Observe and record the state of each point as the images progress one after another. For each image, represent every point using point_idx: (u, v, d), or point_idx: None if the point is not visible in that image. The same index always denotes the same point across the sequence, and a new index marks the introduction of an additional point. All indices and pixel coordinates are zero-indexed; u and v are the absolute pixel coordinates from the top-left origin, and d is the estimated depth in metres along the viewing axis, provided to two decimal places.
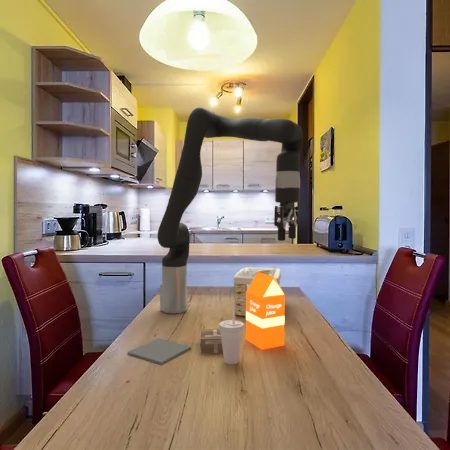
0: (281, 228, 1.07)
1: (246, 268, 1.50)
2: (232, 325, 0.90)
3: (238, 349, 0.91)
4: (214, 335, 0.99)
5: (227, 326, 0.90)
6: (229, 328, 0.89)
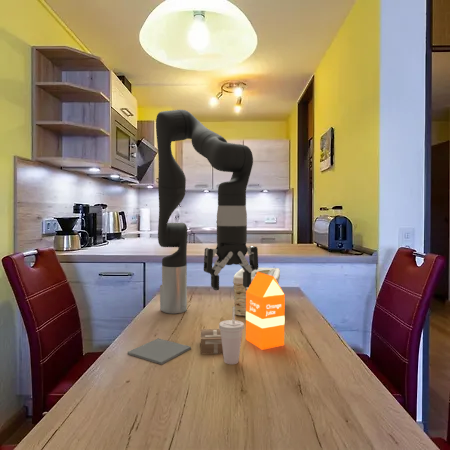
0: None
1: None
2: (232, 325, 0.90)
3: (238, 349, 0.91)
4: (214, 335, 0.99)
5: (227, 326, 0.90)
6: (229, 328, 0.89)
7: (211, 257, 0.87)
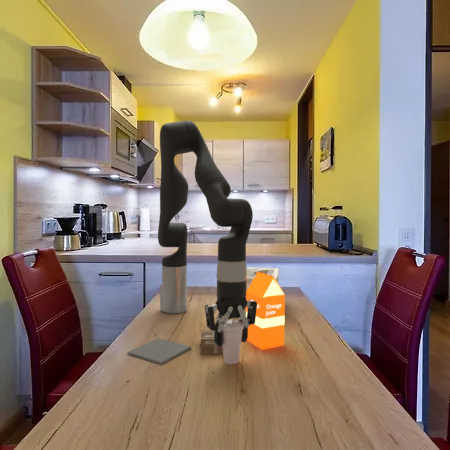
0: None
1: None
2: (232, 325, 0.90)
3: (238, 349, 0.91)
4: None
5: (227, 326, 0.90)
6: (229, 328, 0.89)
7: (212, 315, 0.88)
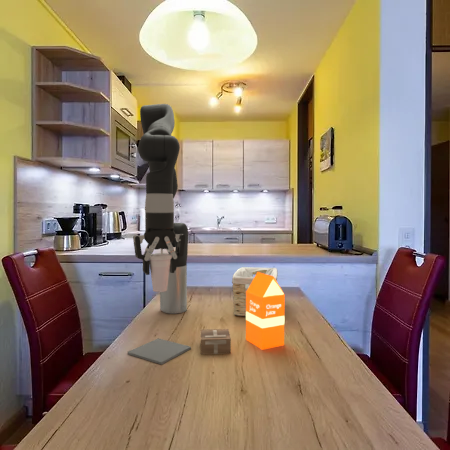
0: None
1: (242, 268, 1.50)
2: (159, 255, 0.96)
3: (165, 278, 0.96)
4: (214, 335, 0.99)
5: (154, 256, 0.95)
6: (155, 257, 0.94)
7: (139, 244, 0.93)
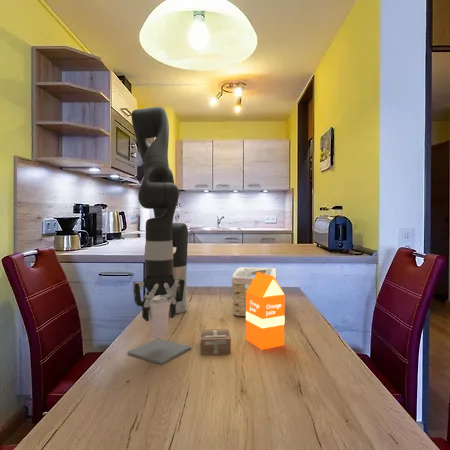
0: None
1: (241, 268, 1.50)
2: (159, 301, 0.96)
3: (164, 324, 0.97)
4: (214, 336, 0.99)
5: (153, 302, 0.96)
6: (155, 304, 0.95)
7: (138, 291, 0.94)
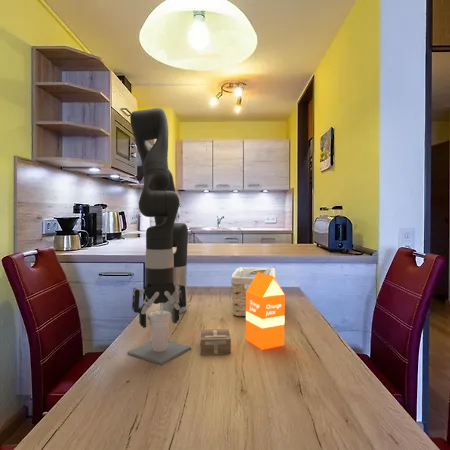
0: None
1: (240, 268, 1.50)
2: (159, 315, 0.96)
3: (165, 338, 0.97)
4: (214, 336, 0.99)
5: (154, 316, 0.96)
6: (155, 318, 0.95)
7: (138, 297, 0.94)
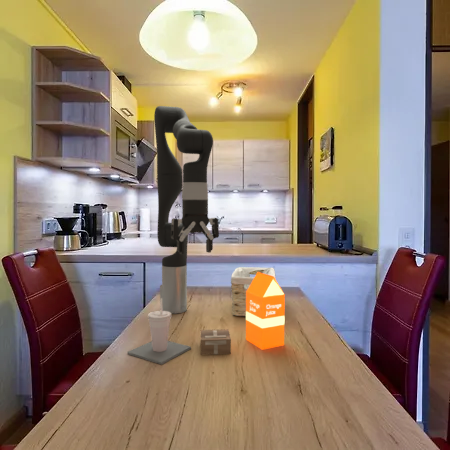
0: None
1: (239, 268, 1.50)
2: (159, 315, 0.96)
3: (165, 337, 0.97)
4: (214, 336, 0.99)
5: (154, 316, 0.96)
6: (155, 318, 0.95)
7: (176, 226, 1.04)
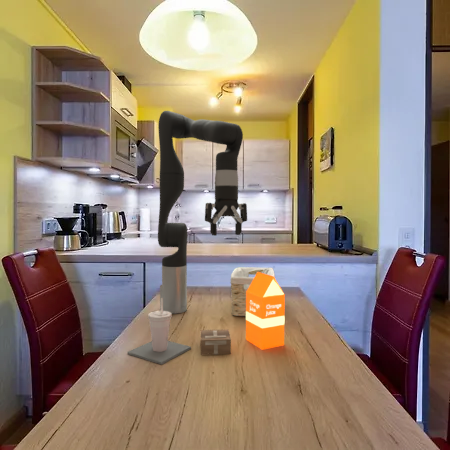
0: None
1: (238, 268, 1.50)
2: (159, 315, 0.96)
3: (165, 337, 0.97)
4: (214, 336, 0.99)
5: (154, 316, 0.96)
6: (155, 318, 0.95)
7: (210, 209, 1.14)
